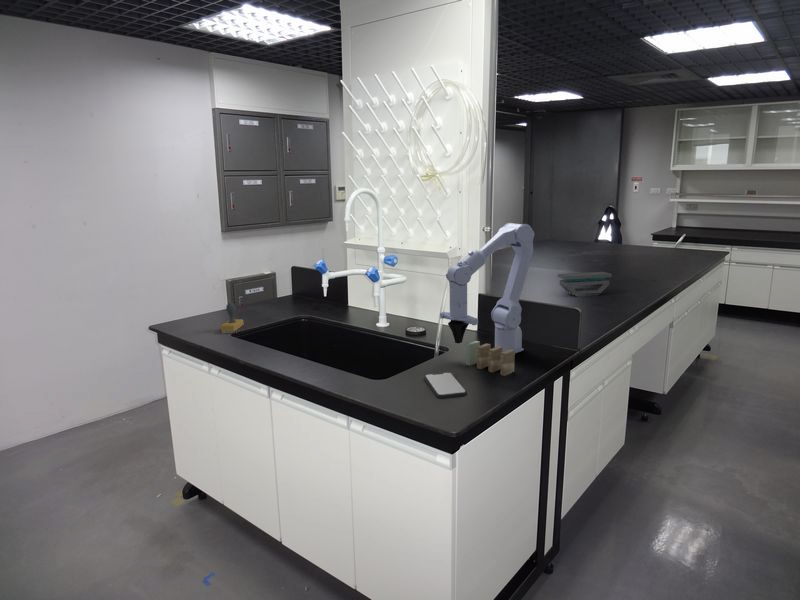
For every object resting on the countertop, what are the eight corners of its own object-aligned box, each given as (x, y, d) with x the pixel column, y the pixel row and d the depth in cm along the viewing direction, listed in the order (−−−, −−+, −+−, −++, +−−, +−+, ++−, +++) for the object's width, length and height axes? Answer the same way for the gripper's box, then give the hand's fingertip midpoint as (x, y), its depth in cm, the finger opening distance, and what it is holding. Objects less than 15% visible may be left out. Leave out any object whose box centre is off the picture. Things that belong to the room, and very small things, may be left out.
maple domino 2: (488, 371, 162) (488, 349, 161) (497, 367, 166) (498, 346, 164) (492, 372, 161) (492, 350, 160) (502, 368, 165) (502, 347, 163)
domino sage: (465, 364, 169) (465, 343, 167) (475, 361, 172) (475, 340, 171) (469, 365, 168) (469, 344, 166) (479, 362, 171) (479, 341, 170)
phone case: (468, 397, 144) (451, 376, 160) (468, 392, 144) (451, 371, 159) (437, 401, 143) (423, 379, 158) (437, 395, 142) (423, 374, 158)
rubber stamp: (234, 334, 213) (232, 305, 210) (221, 334, 213) (218, 305, 211) (244, 327, 223) (241, 300, 220) (231, 327, 223) (228, 300, 221)
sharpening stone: (602, 292, 273) (603, 271, 271) (610, 295, 266) (611, 274, 263) (557, 294, 270) (557, 273, 268) (563, 297, 263) (564, 276, 260)
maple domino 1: (476, 368, 166) (476, 346, 164) (486, 364, 169) (486, 343, 167) (480, 369, 164) (481, 347, 163) (490, 365, 168) (490, 344, 166)
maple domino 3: (500, 374, 159) (500, 352, 158) (509, 370, 163) (510, 349, 161) (504, 375, 158) (505, 353, 157) (514, 371, 162) (514, 350, 160)
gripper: (433, 301, 172) (434, 341, 175) (468, 307, 162) (468, 349, 165) (447, 297, 177) (447, 336, 180) (482, 303, 167) (481, 344, 170)
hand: (458, 342), depth 173 cm, fingers closed
